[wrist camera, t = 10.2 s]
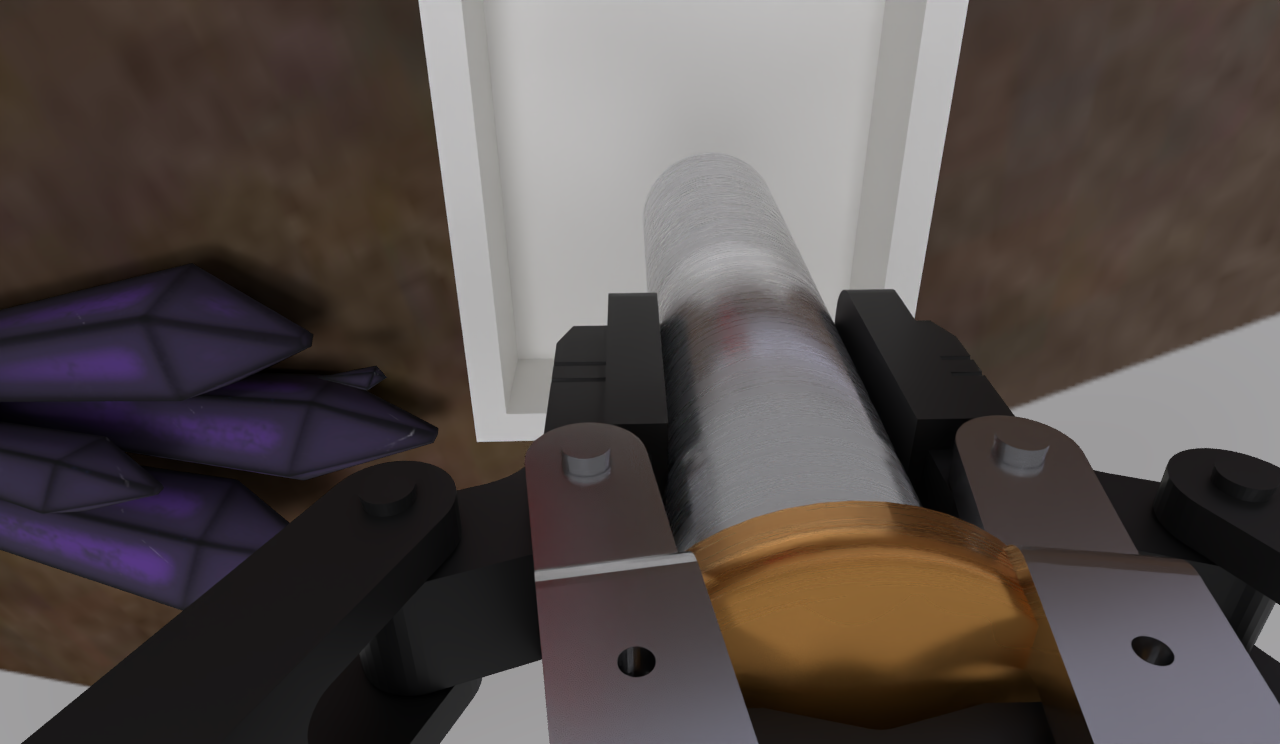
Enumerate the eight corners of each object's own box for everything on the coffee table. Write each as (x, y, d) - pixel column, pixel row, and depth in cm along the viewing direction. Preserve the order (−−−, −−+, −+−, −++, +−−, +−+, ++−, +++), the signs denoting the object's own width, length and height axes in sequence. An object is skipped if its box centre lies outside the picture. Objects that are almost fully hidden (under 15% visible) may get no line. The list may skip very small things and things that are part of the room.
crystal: (-237, 619, 26) (394, 683, 26) (-393, 267, 22) (375, 339, 21) (-54, 497, 33) (453, 546, 33) (-143, 205, 28) (449, 260, 28)
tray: (420, -262, 20) (379, -290, 17) (952, -268, 21) (1019, -297, 17) (493, 375, 30) (477, 442, 26) (862, 368, 30) (894, 432, 26)
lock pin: (612, 124, 17) (592, 600, 6) (810, 121, 17) (1181, 586, 6) (616, 304, 19) (609, 920, 8) (794, 301, 19) (1044, 909, 8)
